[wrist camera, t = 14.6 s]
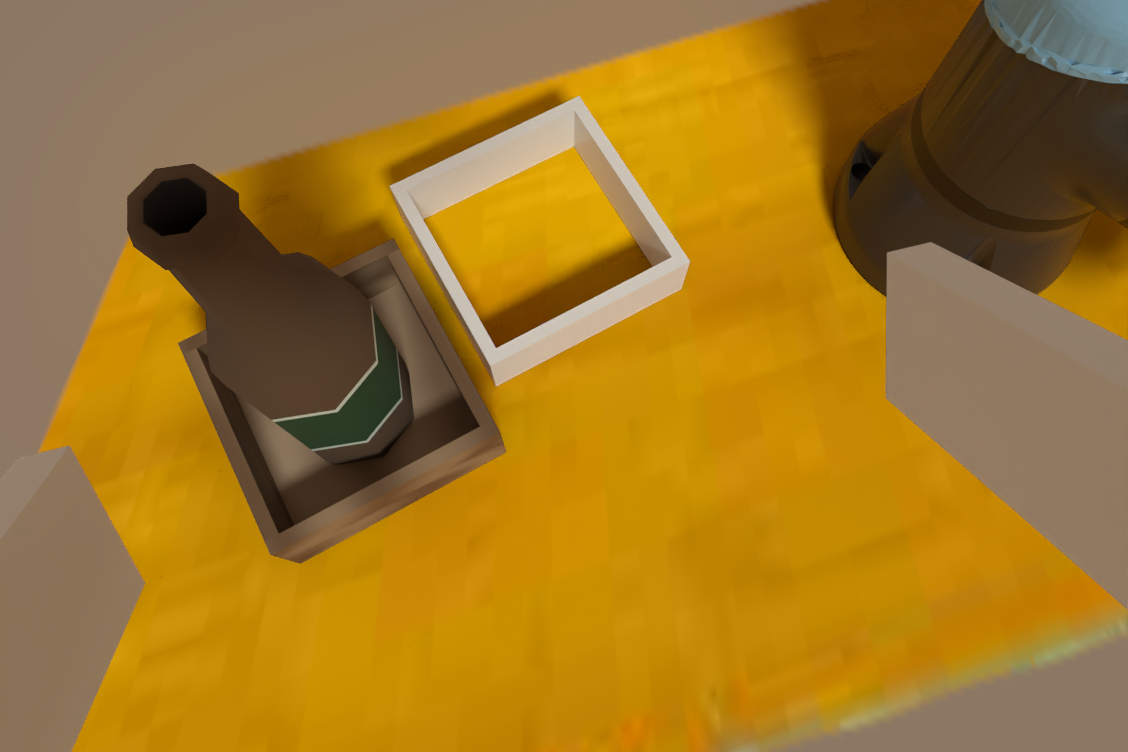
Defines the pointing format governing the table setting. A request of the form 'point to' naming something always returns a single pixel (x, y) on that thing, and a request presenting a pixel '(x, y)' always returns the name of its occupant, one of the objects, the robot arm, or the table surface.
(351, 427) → the beer bottle
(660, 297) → the white corral
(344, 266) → the wooden bin
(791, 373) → the table surface
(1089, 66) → the robot arm
